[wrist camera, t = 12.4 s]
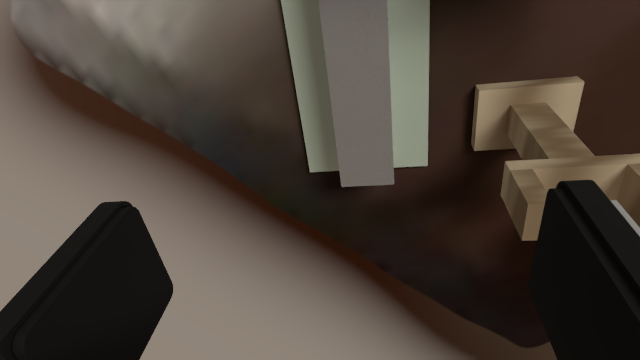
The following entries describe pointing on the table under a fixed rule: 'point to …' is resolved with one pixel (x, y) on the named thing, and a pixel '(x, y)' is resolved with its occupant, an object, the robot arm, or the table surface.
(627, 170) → the forked stand
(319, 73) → the sage mat
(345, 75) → the steel bar
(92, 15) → the table surface
